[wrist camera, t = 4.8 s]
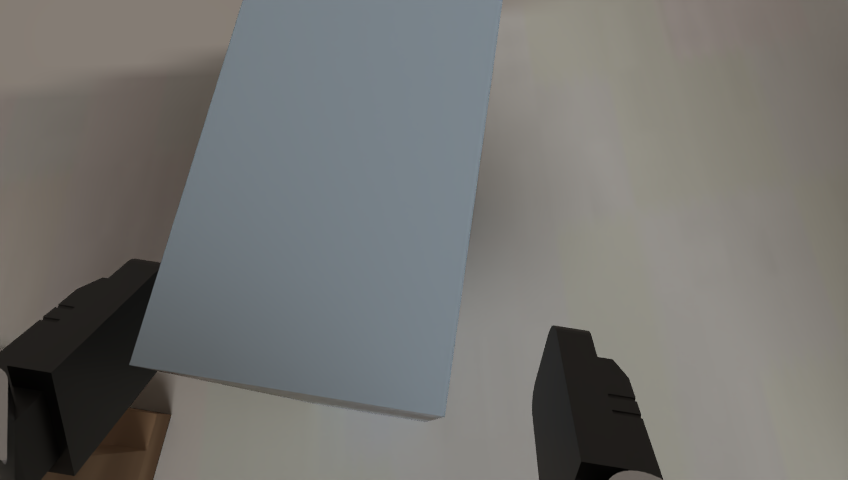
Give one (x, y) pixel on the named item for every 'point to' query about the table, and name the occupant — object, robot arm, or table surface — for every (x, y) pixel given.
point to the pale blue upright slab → (330, 206)
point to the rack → (125, 449)
